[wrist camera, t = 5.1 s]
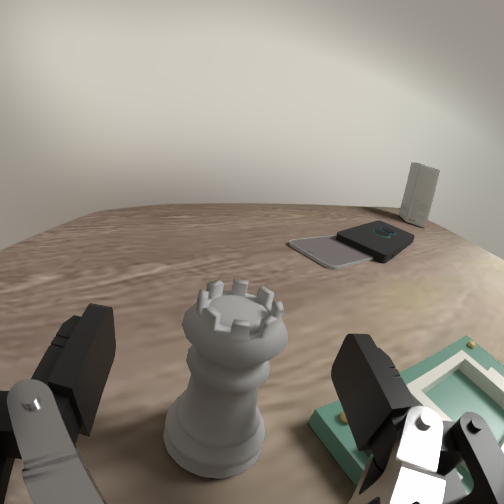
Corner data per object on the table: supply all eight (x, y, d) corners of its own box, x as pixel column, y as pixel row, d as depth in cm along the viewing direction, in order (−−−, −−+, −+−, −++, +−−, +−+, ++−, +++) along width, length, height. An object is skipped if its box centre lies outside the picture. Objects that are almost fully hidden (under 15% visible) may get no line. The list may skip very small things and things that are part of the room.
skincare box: (425, 229, 66) (442, 171, 60) (403, 222, 67) (420, 162, 61) (416, 220, 74) (431, 167, 68) (396, 214, 74) (411, 160, 69)
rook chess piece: (279, 456, 12) (345, 324, 9) (193, 497, 9) (211, 375, 6) (227, 395, 15) (257, 258, 12) (147, 420, 12) (142, 273, 9)
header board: (429, 570, 5) (462, 557, 4) (307, 422, 14) (322, 396, 13) (537, 413, 13) (553, 393, 12) (460, 345, 22) (471, 326, 21)
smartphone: (390, 253, 42) (332, 267, 32) (388, 258, 42) (330, 275, 32) (351, 233, 47) (285, 240, 37) (350, 238, 47) (284, 247, 37)
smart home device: (416, 235, 51) (388, 255, 37) (413, 243, 52) (383, 267, 37) (378, 219, 56) (334, 231, 41) (376, 227, 57) (331, 242, 42)
